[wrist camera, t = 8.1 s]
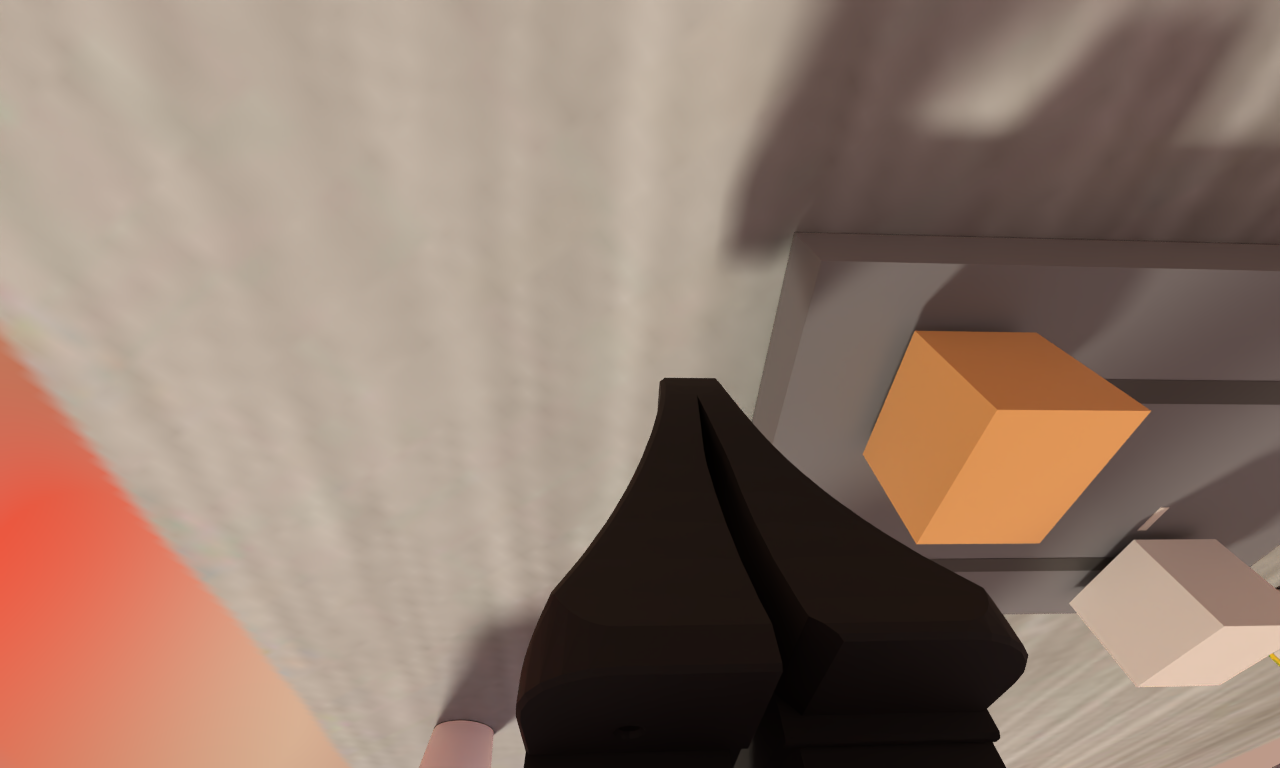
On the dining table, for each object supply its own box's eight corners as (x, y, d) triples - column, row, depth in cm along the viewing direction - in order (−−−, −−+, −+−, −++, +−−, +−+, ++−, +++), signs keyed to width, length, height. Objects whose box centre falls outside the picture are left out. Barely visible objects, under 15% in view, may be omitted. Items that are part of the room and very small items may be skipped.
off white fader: (1141, 602, 19) (1219, 685, 16) (1068, 603, 19) (1136, 687, 16) (1215, 539, 16) (1319, 625, 14) (1133, 539, 16) (1224, 626, 14)
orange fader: (964, 454, 14) (1039, 543, 11) (862, 454, 13) (915, 544, 11) (1036, 332, 11) (1151, 411, 9) (914, 330, 11) (997, 409, 9)
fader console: (1148, 569, 22) (1192, 612, 20) (717, 573, 21) (726, 618, 19) (1504, 250, 13) (1631, 279, 11) (794, 232, 12) (822, 260, 10)
